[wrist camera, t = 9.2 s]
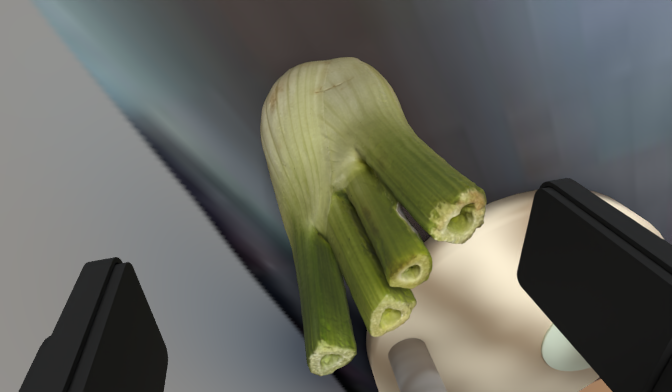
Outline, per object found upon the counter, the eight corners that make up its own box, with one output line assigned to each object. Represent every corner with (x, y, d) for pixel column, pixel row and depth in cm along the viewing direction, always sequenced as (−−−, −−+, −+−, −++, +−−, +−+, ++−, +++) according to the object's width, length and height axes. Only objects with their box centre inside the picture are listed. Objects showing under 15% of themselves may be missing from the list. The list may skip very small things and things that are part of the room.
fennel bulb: (286, 179, 20) (329, 410, 10) (227, 94, 17) (204, 292, 7) (390, 120, 20) (547, 303, 9) (345, 23, 17) (496, 133, 7)
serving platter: (519, 126, 20) (619, 190, 15) (694, 259, 29) (799, 331, 23) (307, 373, 27) (323, 480, 22) (500, 423, 36) (547, 508, 30)
